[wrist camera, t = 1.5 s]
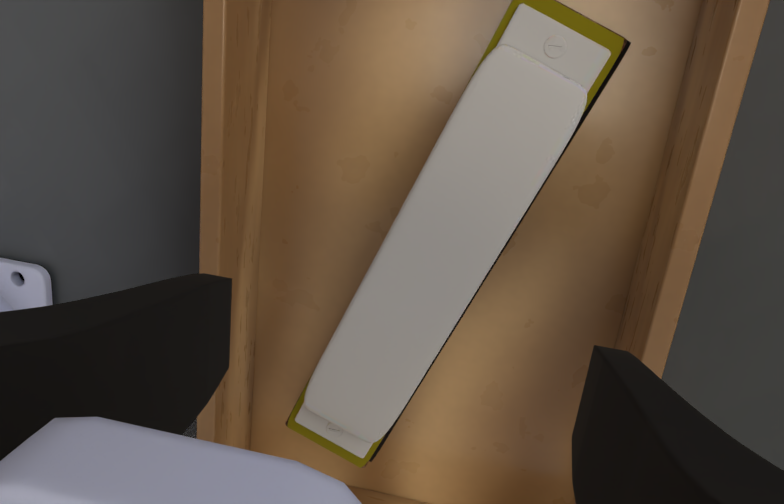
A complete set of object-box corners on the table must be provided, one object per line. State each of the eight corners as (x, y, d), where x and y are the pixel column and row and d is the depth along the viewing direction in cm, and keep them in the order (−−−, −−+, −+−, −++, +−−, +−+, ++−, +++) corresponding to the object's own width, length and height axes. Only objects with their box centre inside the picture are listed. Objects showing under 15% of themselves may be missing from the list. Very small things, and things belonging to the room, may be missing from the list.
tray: (238, 465, 24) (194, 533, 20) (263, -135, 17) (204, -174, 14) (580, 543, 22) (590, 628, 19) (748, -92, 15) (807, -125, 12)
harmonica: (376, 450, 22) (362, 488, 20) (296, 405, 22) (275, 440, 20) (628, 42, 16) (641, 43, 15) (521, -16, 17) (521, -22, 15)
